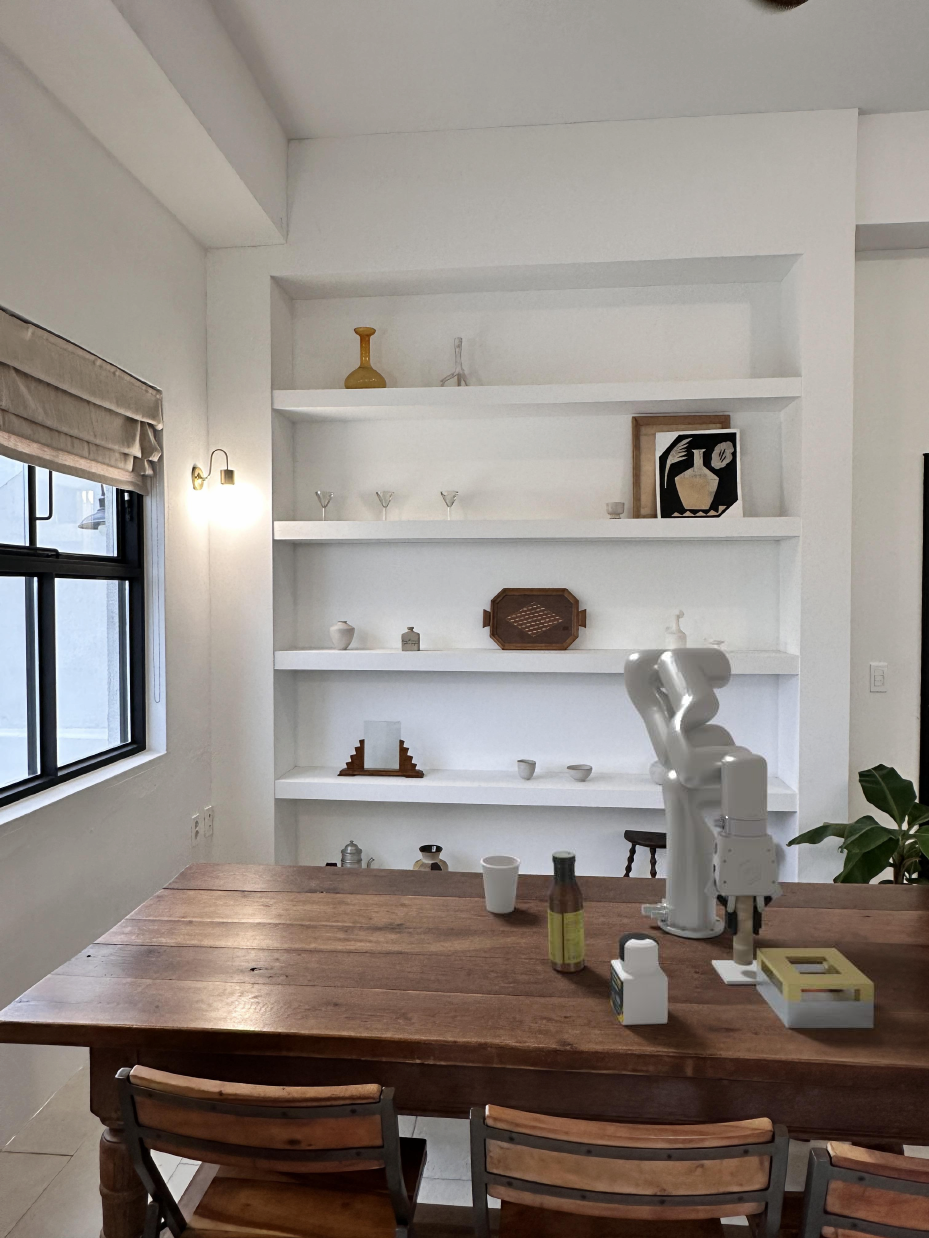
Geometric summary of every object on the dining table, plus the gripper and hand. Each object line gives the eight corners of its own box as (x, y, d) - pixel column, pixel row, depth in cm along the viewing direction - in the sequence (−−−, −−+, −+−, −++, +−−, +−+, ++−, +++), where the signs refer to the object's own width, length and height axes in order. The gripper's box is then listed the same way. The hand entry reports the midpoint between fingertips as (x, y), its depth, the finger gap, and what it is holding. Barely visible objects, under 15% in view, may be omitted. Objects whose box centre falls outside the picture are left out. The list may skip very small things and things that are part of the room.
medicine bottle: (609, 1003, 134) (610, 928, 134) (653, 1001, 135) (654, 927, 135) (621, 1026, 127) (622, 947, 127) (668, 1024, 128) (668, 945, 127)
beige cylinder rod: (736, 965, 143) (737, 877, 143) (730, 957, 146) (731, 871, 146) (755, 965, 143) (756, 877, 143) (749, 957, 146) (749, 871, 146)
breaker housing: (787, 1027, 127) (787, 983, 127) (756, 988, 140) (756, 948, 140) (873, 1027, 127) (873, 983, 127) (834, 988, 140) (834, 948, 140)
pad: (726, 984, 141) (726, 980, 141) (711, 963, 149) (711, 960, 149) (773, 983, 141) (773, 980, 141) (756, 963, 149) (756, 960, 149)
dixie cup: (527, 906, 177) (527, 858, 177) (507, 918, 170) (508, 869, 170) (493, 898, 181) (493, 852, 181) (472, 910, 174) (472, 862, 174)
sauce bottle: (587, 961, 150) (588, 850, 149) (580, 976, 144) (581, 860, 143) (551, 956, 152) (552, 846, 151) (543, 970, 146) (544, 856, 146)
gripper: (702, 831, 141) (701, 941, 141) (800, 831, 141) (799, 941, 141) (690, 820, 148) (689, 924, 148) (782, 820, 148) (782, 924, 149)
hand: (743, 931), depth 145 cm, fingers closed on beige cylinder rod, 3 cm apart
